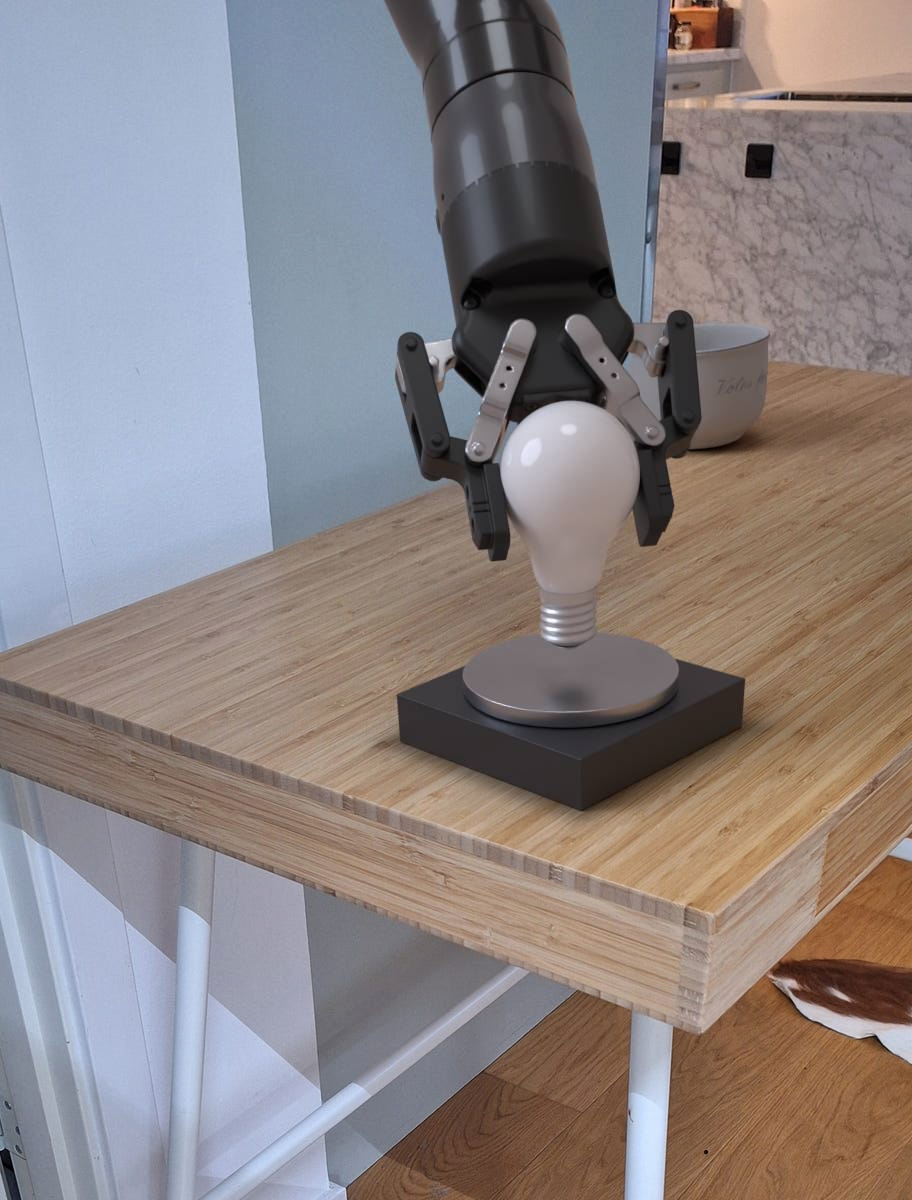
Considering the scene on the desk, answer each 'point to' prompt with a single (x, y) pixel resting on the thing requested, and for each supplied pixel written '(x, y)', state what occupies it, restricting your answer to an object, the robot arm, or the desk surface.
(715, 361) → the teacup
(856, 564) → the desk surface
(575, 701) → the scale pan
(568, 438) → the lightbulb
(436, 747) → the scale
